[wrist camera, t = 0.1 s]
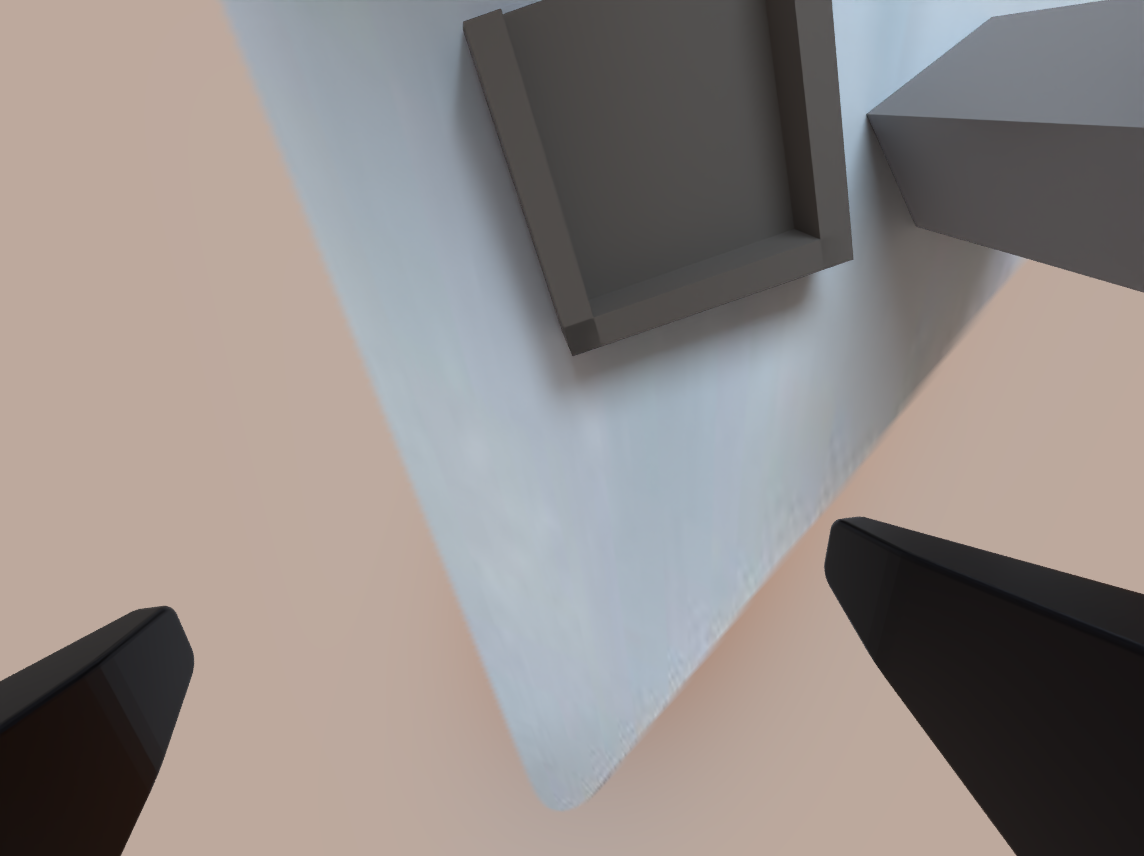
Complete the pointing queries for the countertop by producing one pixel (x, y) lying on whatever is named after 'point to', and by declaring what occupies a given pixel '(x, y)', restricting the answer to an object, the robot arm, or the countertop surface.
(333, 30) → the countertop surface
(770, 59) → the dark grey square tray
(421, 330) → the countertop surface
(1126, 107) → the connector
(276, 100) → the countertop surface
